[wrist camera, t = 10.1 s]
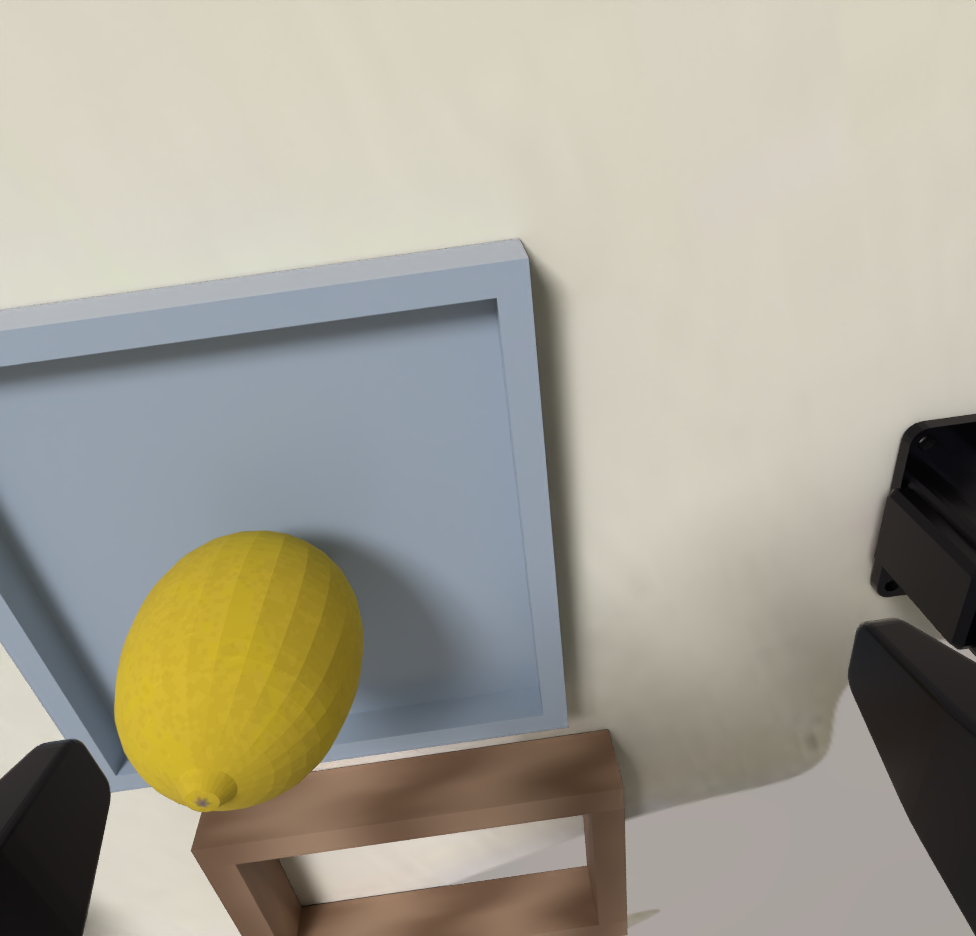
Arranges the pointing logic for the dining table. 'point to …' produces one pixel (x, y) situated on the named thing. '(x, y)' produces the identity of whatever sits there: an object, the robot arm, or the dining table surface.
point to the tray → (292, 481)
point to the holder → (424, 813)
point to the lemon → (239, 671)
